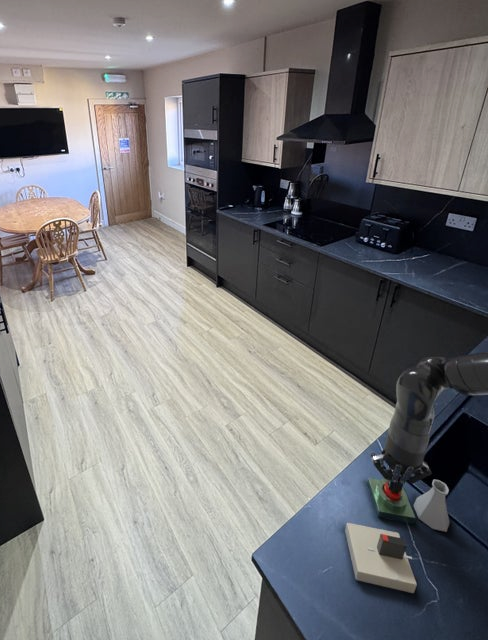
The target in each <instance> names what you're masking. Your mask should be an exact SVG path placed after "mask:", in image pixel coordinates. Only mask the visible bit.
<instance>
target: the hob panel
mask: <svg viewBox="0 0 488 640" xmlns="http://www.w3.org/2000/svg"><path fill="white" fill-rule="evenodd" d="M344 532H345V536H346V541H347V545H348V546H347V547H348V550H349V554H350V559H351V565H352V568H353V573H354V579H355V580H356V581H359V582H363V583H368V584H373V585H377V586H380V587H384V588H390V589H392V590H393V589H394V590H397V591H402V592H406V593H411V594H414V593H415V591H416V588H417V586H418V585H417V581H416V578H415V575H414V573H413V570H412V567H411V564H410V561H409V560H413V556H409V555H407V552H405V553H404V556H403V559H397V558H392V557H388V556H383V555H379V553H378V549H377V545H378V541H379V537H380V534H384V535H388V536H393V537H398V538H401V536H400V533H399V532H396V531H390V530H386V529H382V528H376V527H371V526H367V525H362V524H356V523H351V522H346V525H345V530H344Z"/></svg>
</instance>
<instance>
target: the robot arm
mask: <svg viewBox="0 0 488 640" xmlns="http://www.w3.org/2000/svg"><path fill="white" fill-rule="evenodd" d="M395 388H396V389H395V391H396V403H395V407H394V411H393V415H392V417H391V419H390V422H389V427H388V430H387V433H386V439H385V441H384V442H385V443H384V448H383V449H382V450H381V452H380V453H381V454H376V453H374V452H373V453H370V458H371V460H372V463H373V466H374V467H375V469H377V471H378V472H379V473H380V475H381V476H382V478H385V479H386V480H387V484H388V487H389V490H391V492H392V493H397V494H399V492H400V491H402V487H403V488H404V485H405V484H406V483H408V484H410V485H412V484H413V485H414V484H415V483H418V482H419V481H421V480H424V479H425V478H427V477H429V476H431V475H432V473H433V472H432V471H431V469H430V467H429V465H428V463H427V462H426V461H424V460H425V456H426V453H427V449H428V446H429V443H430V440H431V431H432V428H433V424H434V420H435V416H436V415H435V414H436V413H435V409H434V407H433V406H434V403H435V401H436V399H437V398H438V397H439V396H440V395H441V394H442V393H443V392H444V391H446V390H452V389H453V390H454V391H456V392H458V393H460V394H462V395H466V396H485V395H488V351H483V352H476V353H470V354H463V355H457V356H453V357H452V356H426V357H420V358H417V359H416V360H414V361H412V362H411V363H410V364H409V365H408V366H406V367H405V368H404V369H403V370H402V371H401V372H400V374H399V375H398V377H397V381H396V387H395ZM385 464H386V465H387V466H388V469H387V467H386V466H385ZM413 474H414V475H413ZM412 475H413V476H412Z"/></svg>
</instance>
